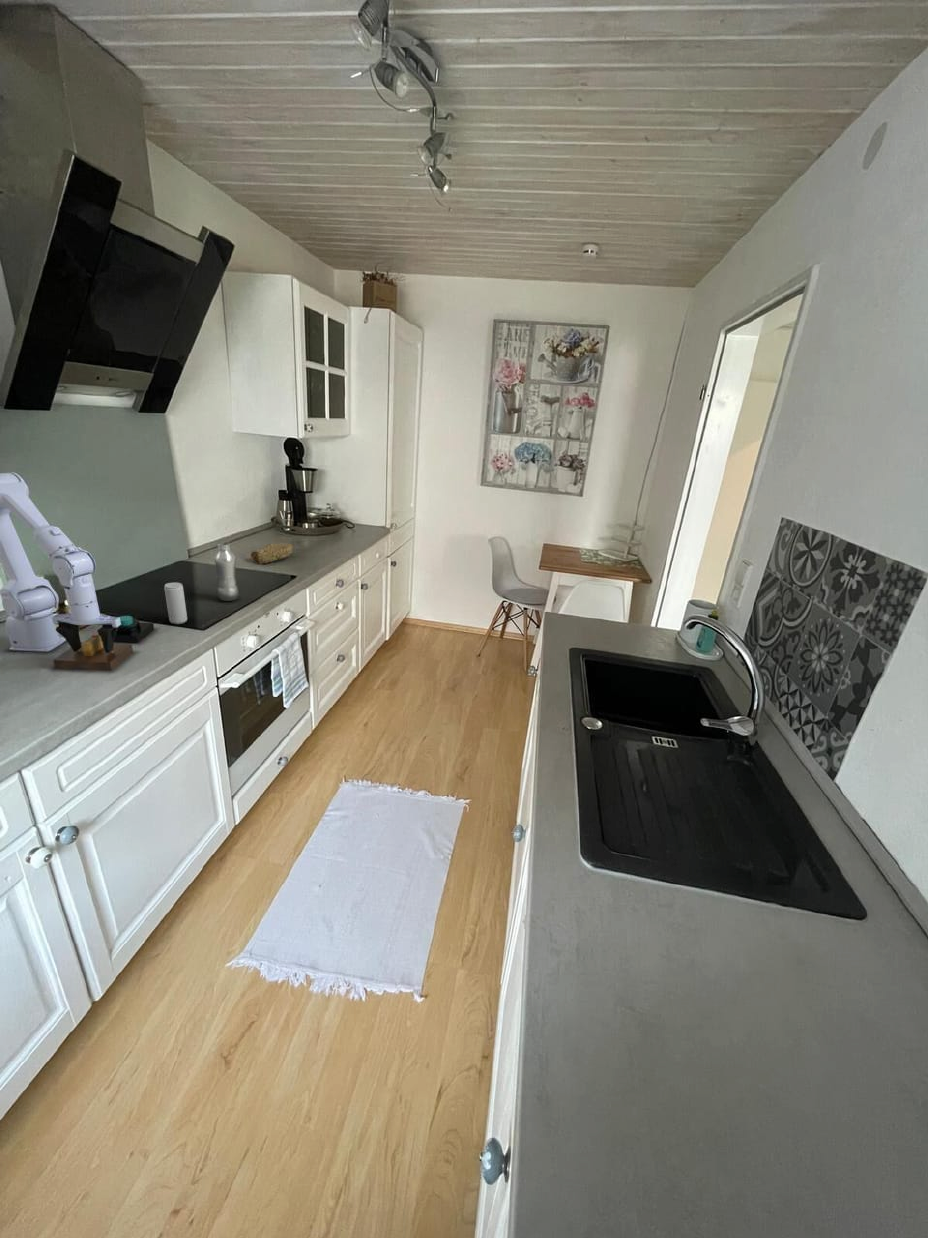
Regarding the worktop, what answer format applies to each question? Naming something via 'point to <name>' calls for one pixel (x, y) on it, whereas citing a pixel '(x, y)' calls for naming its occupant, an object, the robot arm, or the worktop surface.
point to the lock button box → (133, 632)
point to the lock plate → (93, 658)
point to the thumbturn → (92, 645)
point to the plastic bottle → (226, 573)
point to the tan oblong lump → (272, 552)
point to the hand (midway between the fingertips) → (93, 650)
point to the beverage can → (175, 603)
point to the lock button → (126, 620)
